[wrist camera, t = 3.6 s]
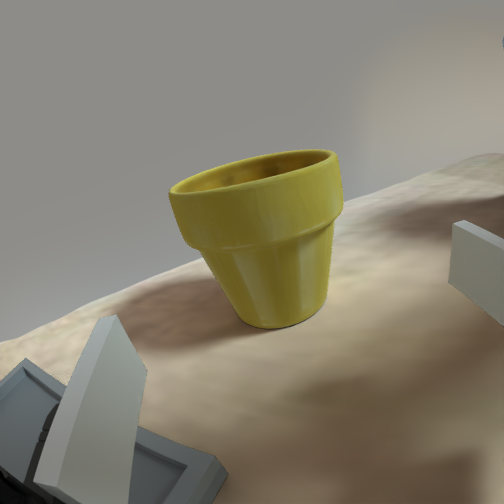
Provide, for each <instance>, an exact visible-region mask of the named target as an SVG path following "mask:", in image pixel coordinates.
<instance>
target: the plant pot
mask: <svg viewBox="0 0 504 504" xmlns="http://www.w3.org/2000/svg"><path fill="white" fill-rule="evenodd" d="M169 199H170V203H171V206H172V209H173V212H174V215H175V218H176V221H177V224H178V227H179V229H180V232H181V234H182V236H183V239H184V240H185V242H186V243H187V244H188V245H189V246H191V247H192V248H194V249H197V250H199V251H200V253H201V255H202V256H203V258H204V260H205V261H206V263H207V265H208V266H209V268H210V270H211V271H212V273H213V275H214V276H215V278H216V280H217V281H218V283H219V285H220V286H221V288H222V290H223V291H224V293H225V295H226V296H227V298H228V300H229V301H230V303H231V305H232V306H233V308H234V310H235V311H236V313H237V314H238V316H239V317H240V318H241V319H242V320H243V321H244V322H245V323H247V324H249V325H251V326H254V327H257V328H265V329H274V328H282V327H287V326H291V325H294V324H297V323H299V322H302V321H304V320H306V319H308V318H309V317H311V316H312V315H313V314H315V313H316V312H317V311H318V310H319V309H320V308H321V306H322V305H323V303H324V301H325V299H326V296H327V289H328V282H329V273H330V264H331V255H332V245H333V234H334V223H335V219H336V218H337V217H338V216H339V215H340V213H341V212H342V209H343V205H344V203H343V190H342V181H341V174H340V168H339V162H338V157H337V155H336V154H335V153H334V152H333V151H329V150H320V149H319V150H318V149H309V150H295V151H286V152H279V153H272V154H267V155H262V156H257V157H252V158H248V159H244V160H240V161H236V162H232V163H229V164H225V165H222V166H219V167H216V168H213V169H209V170H207V171H204V172H201V173H199V174H196V175H194V176H192V177H189V178H187V179H185V180H183V181H181V182H179V183H177V184H176V185H174V186H173V187H172V188H171V189H170V190H169Z"/></svg>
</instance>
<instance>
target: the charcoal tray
mask: <svg viewBox="0 0 504 504" xmlns="http://www.w3.org/2000/svg"><path fill="white" fill-rule="evenodd" d="M66 388H67V386H65V385H64V384H62V383H61V382H59V381H58V380H56V379H55V378H53V377H52V376H50V375H49V374H47V373H46V372H45V371H43V370H42V369H40V368H39V367H38V366H36V365H35V364H34V363H32V362H31V361H30V360H28V359H27V358H25V359H24V360H23V361H22V362H20V363H19V364H18V365H17V366H16V367H15V368H14V369H13V370H12V371H11V372H10V373H9V374H8V375H6V376H5V377H4V378H3V379H2V380H1V381H0V466H1V467H3V468H4V469H5V470H6V471H8V472H9V473H10V474H11V475H12V476H14V477H15V478H16V479H18V480H19V481H20V482H22V483H23V482H24V480H25V477H26V473H27V470H28V467H29V464H30V461H31V458H32V455H33V452H34V449H35V446H36V443H37V442H39V441H38V438H39V435H40V433H41V432H42V431H43V430H42V427H43V425H44V422H45V420H46V417H47V415H48V414H49V412H50V411H51V410H52V409H53V407H54V406H55V405H56V404H58V403H60V402H61V400H62V397H63V395H64V392H65V390H66ZM227 475H228V472H227V471H226V470H225V468H224V467H223V466H222V465H221V463H220V462H219V461H218V459H217V458H216V457H215V456H213V455H210V454H207V453H204V452H201V451H198V450H195V449H192V448H190V447H187V446H184V445H182V444H179V443H176V442H174V441H171V440H169V439H167V438H164V437H162V436H159V435H157V434H155V433H152V432H150V431H148V430H146V429H144V428H141V427H139V426H138V427H137V433H136V440H135V447H134V454H133V461H132V469H131V478H130V487H129V497H128V504H211V503H212V502H213V500H214V498H215V496H216V495H217V493H218V491H219V489H220V488H221V486H222V484H223V482H224V480H225V479H226V477H227Z"/></svg>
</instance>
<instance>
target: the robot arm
mask: <svg viewBox="0 0 504 504" xmlns="http://www.w3.org/2000/svg"><path fill="white" fill-rule="evenodd" d="M503 47H504V38H503ZM448 283H450V284H451V285H452V286H454V287H455V288H456V289H458V290H459V291H460V292H462V293H463V294H464V295H465V296H467V297H468V298H469V299H470V300H472V301H473V302H474V303H476V304H477V305H478V306H479V307H480V308H482V309H483V310H484V311H485V312H487V313H488V314H489V315H490V316H491V317H493V318H494V319H495V320H496V321H497V322H499V323H500V324H501V325H502V326H503V327H504V239H503V238H501V237H499V236H497V235H495V234H493V233H491V232H489V231H487V230H485V229H483V228H481V227H479V226H476V225H474V224H472V223H470V222H468V221H466V220H462V221H459V222H456V223H453V224H452V245H451V259H450V270H449V280H448ZM147 371H148V370H147V369H146V367H145V365H144V364H143V362H142V360H141V359H140V357H139V355H138V353H137V352H136V350H135V348H134V346H133V344H132V343H131V341H130V339H129V337H128V335H127V333H126V331H125V330H124V328H123V326H122V324H121V322H120V320H119V318H118V316H117V314H116V315H112V316H107V317H103V318H99V320H98V321H97V323H96V325H95V327H94V329H93V331H92V333H91V335H90V337H89V339H88V342H87V344H86V346H85V348H84V350H83V352H82V354H81V356H80V358H79V360H78V363H77V365H76V367H75V369H74V372H73V374H72V376H71V378H70V381H69V383H68V385H67V388H66V390H65V392H64V395H63V397H62V400H61V402H60V403H58V404H56V405H55V406H54V407H53V409H52V410H51V411H50V412H49V414H48V415H47V417H46V420H45V422H44V425H43V427H42V430H43V431H42V432H41V433H40V435H39V438H38V441H39V442H37V443H36V446H35V449H34V452H33V455H32V458H31V461H30V464H29V467H28V470H27V473H26V477H25V480H24V482H23V483H22V482H20V481H19V480H18V479H16V478H15V477H14V476H12V475H11V474H10V473H9V472H8V471H6V470H5V469H4V468H3V467H1V466H0V504H128V497H129V487H130V478H131V469H132V461H133V454H134V447H135V440H136V433H137V427H138V420H139V414H140V408H141V403H142V397H143V392H144V386H145V381H146V376H147Z"/></svg>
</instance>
